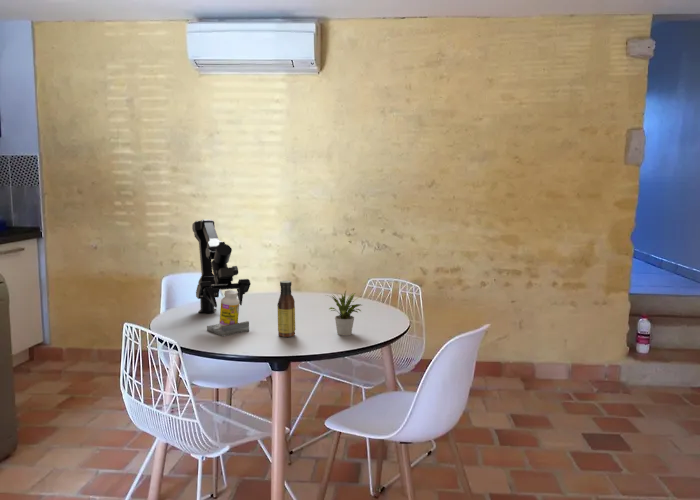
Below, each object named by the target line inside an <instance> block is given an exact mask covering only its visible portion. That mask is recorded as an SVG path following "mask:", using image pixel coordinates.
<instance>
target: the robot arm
mask: <svg viewBox="0 0 700 500" xmlns="http://www.w3.org/2000/svg"><path fill="white" fill-rule="evenodd" d="M191 228H192V232H193V236H194V238H195V239H196V240H197V242H198V247H199V249H198V250H199V258H200V259H199V260H200V272H201V276H200V278H199V280H198V284H197V287H196V291H195V296H196V298H197V299H198V300H200V301H199V302H200V304H199V305H200V306H199V307H200V309H199V310H198V314H214V313H215V312H216V311H217V308H218V305H217V301H216V298H220V290H221V291H222V290H224V291H227V290H236V291H237V292H238V294H237V298H238V299H239V307H240V306H242V304H243V299H244V295H245V294H247V293H248V292H249V289H250V287H251V280H250V279H249V278H240V279H238V281H237V282H236V283H232V282H233V281H234V278H233V277H235V276H237V275H239V268H238V266H237V265H233V266H231V267H228V263H229V262H230V258H231V255H232V252H233V250H232V247H231V246H230V245H229V244H226V242H225V241H222V240H220V239H219V236H218V234H217V231H216V228H215V220H214V219H201V220H195V221H194V222H193V223H192V227H191Z"/></svg>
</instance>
